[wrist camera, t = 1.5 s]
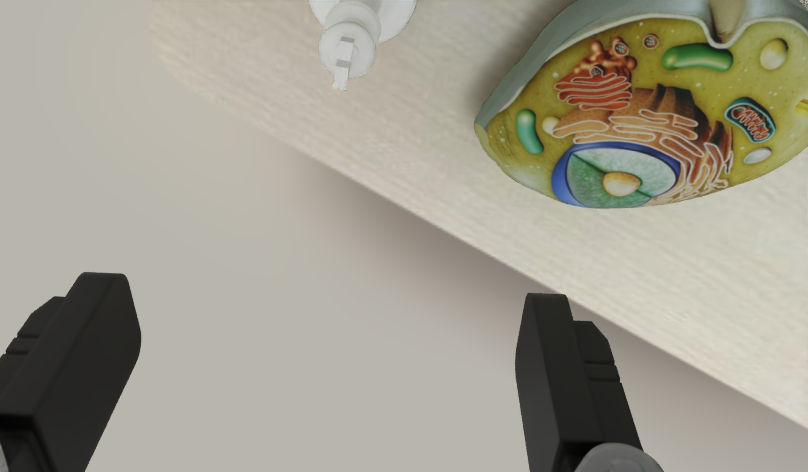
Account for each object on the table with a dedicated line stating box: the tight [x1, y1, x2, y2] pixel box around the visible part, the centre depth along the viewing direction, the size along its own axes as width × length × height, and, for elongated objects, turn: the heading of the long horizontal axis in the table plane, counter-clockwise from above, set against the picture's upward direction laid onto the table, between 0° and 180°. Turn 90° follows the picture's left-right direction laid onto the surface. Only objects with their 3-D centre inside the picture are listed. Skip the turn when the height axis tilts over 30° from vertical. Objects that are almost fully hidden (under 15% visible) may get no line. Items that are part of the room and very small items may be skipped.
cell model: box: [474, 0, 808, 208], centre depth 30 cm, size 11×8×15 cm
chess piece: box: [309, 0, 417, 91], centre depth 26 cm, size 5×5×10 cm
